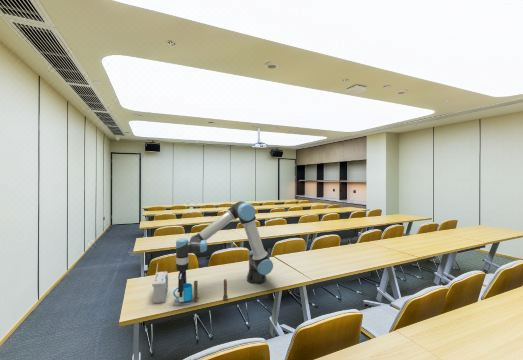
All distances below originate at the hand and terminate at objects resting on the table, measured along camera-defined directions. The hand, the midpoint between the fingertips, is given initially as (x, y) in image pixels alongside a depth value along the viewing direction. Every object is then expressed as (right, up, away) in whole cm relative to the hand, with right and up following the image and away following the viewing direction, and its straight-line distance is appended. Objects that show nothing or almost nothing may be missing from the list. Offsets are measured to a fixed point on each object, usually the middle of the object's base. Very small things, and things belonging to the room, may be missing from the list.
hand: (182, 298), depth 161 cm
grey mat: (0, -2, 0) cm, 2 cm away
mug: (0, -1, 0) cm, 1 cm away
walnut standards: (+18, -2, +2) cm, 18 cm away
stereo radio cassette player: (-17, -2, +7) cm, 19 cm away
